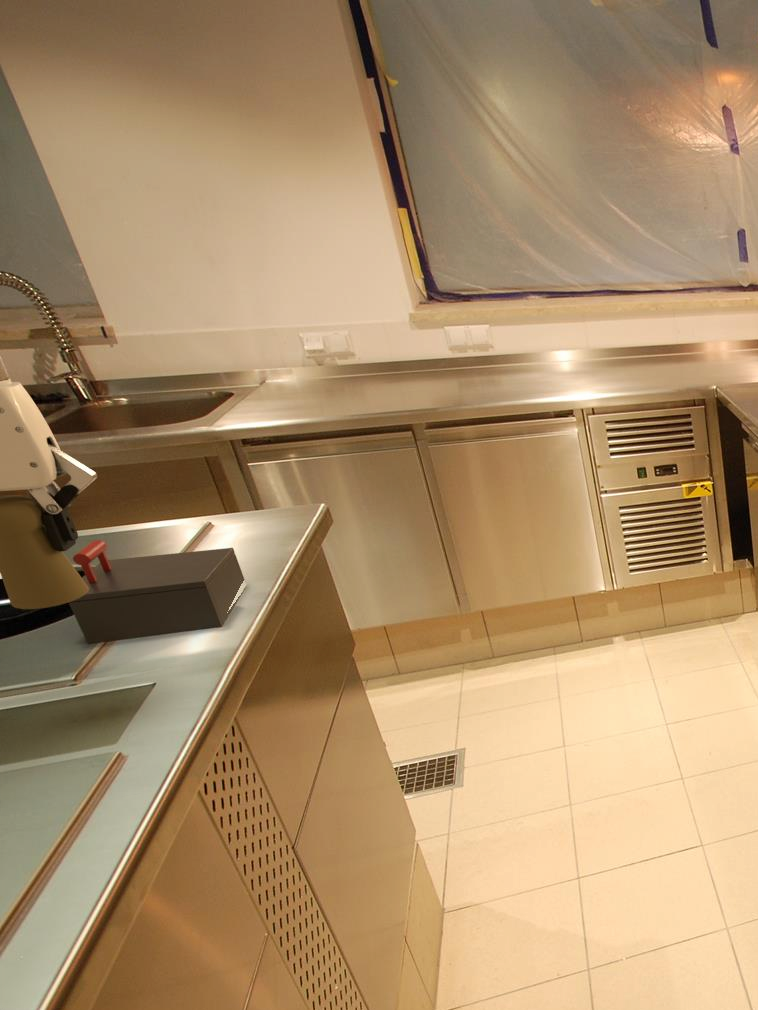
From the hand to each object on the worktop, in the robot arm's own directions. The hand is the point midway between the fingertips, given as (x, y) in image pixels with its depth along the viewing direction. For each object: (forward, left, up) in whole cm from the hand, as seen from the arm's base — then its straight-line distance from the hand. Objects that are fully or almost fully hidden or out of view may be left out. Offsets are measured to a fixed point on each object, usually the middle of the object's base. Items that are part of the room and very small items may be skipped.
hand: (28, 548), depth 88 cm
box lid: (0, +26, -12) cm, 29 cm away
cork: (0, 0, -6) cm, 6 cm away
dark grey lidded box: (0, +26, -19) cm, 32 cm away
